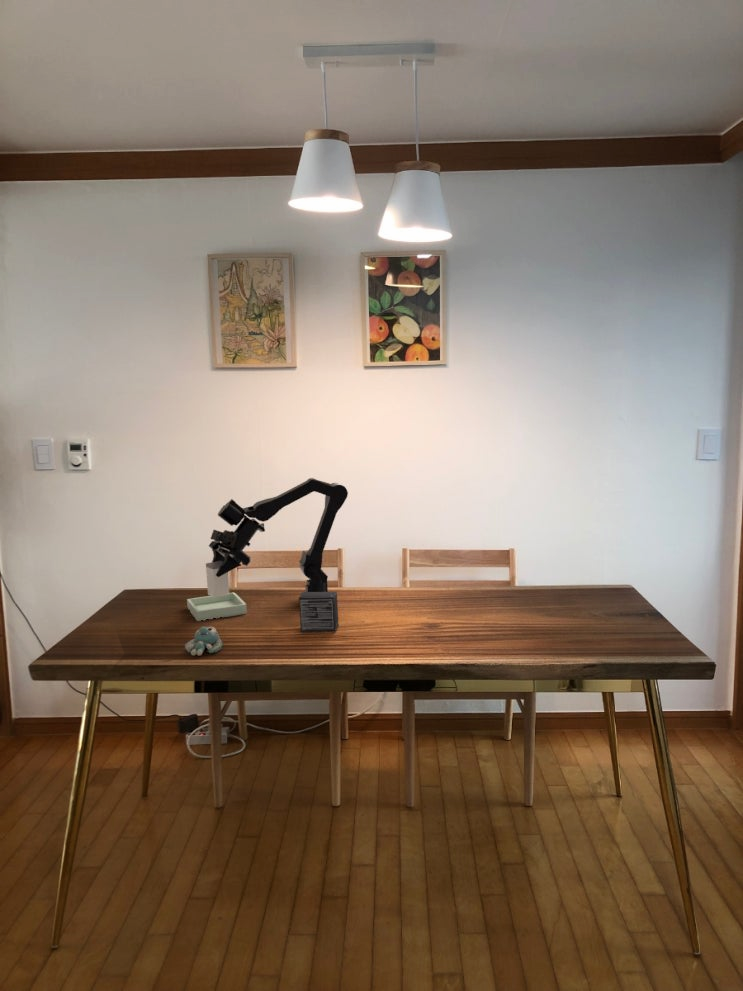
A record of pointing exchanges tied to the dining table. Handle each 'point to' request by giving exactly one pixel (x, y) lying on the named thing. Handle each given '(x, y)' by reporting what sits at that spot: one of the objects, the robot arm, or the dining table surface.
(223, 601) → the tray
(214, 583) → the grey upright pillar
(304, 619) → the small box
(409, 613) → the dining table surface
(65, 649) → the dining table surface
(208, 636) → the stuffed animal
